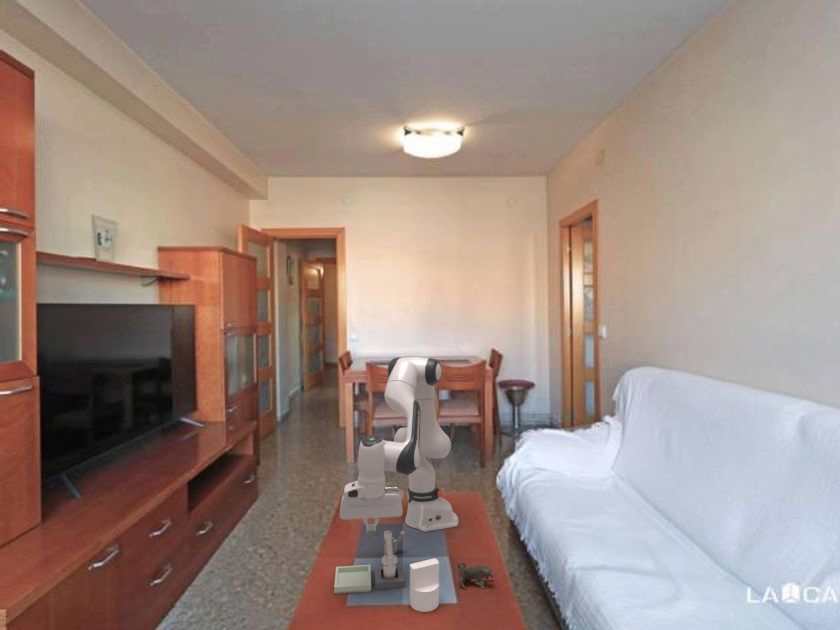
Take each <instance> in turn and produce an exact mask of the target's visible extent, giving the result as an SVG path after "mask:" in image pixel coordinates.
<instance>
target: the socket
mask: <svg viewBox="0 0 840 630" xmlns="http://www.w3.org/2000/svg"><path fill="white" fill-rule="evenodd" d="M385 555H387V550H386V542H384V554H383V556H385ZM381 574H383V565H377V566H376V565H375V566H374V587H375V589H374V590H381V589H380V588H388V589H399V588H406V578H405V572H404V564H396V575H398V576H397V577H396V578H390V579H383V578H382V575H381ZM391 587H392V588H391ZM393 587H394V588H393Z"/></svg>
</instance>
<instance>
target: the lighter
mask: <svg viewBox="0 0 840 630" xmlns="http://www.w3.org/2000/svg"><path fill="white" fill-rule="evenodd" d="M404 535H405V531H404V530H401V531H400V533H399V534H398V537H397V539H395V537H394V536H392V541H391V543H392V551H393V552H396V551H397V552H398V544H401V541H402V540H403V537H404ZM397 552H396V553H397Z"/></svg>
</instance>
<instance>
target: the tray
mask: <svg viewBox="0 0 840 630" xmlns="http://www.w3.org/2000/svg"><path fill="white" fill-rule="evenodd" d="M371 571H372V569H371V564H360V565H359V564H357V565H343V566H335V577H334V584H333V585H334V586H333V588H334V589H333V594H334V595H343V594H355V593H368V592H367V591H371V592H372V572H371Z"/></svg>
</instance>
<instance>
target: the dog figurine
mask: <svg viewBox="0 0 840 630" xmlns="http://www.w3.org/2000/svg"><path fill="white" fill-rule="evenodd" d="M492 572H493V568H492V567H491V568H490V567H489V566H487V565H476V566H474V567H471V566H470V567H469V566H467V564H466V563H465V562H459V563H458V564H457V573H458V577H459V580H458V582H459V583H458V584H460V585H461V588H462V589H463V590H464V591H467V587H466V585H465V584H464V581H468V582H471V581H472V580H476V581H473V583H474V584H475V585H476V586H477V587H479V588H481V589H486V587H485V581H484V579H485V580H489V577H490V578H494V575H493V574H492Z"/></svg>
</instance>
